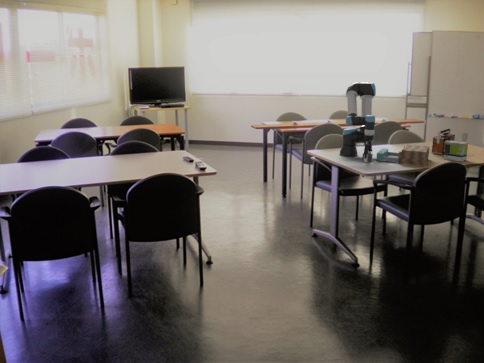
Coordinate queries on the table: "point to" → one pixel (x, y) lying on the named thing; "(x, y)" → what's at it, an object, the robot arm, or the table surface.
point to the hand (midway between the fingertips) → (367, 160)
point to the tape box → (368, 157)
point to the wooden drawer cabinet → (414, 155)
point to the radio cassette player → (441, 141)
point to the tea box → (455, 150)
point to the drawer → (387, 156)
